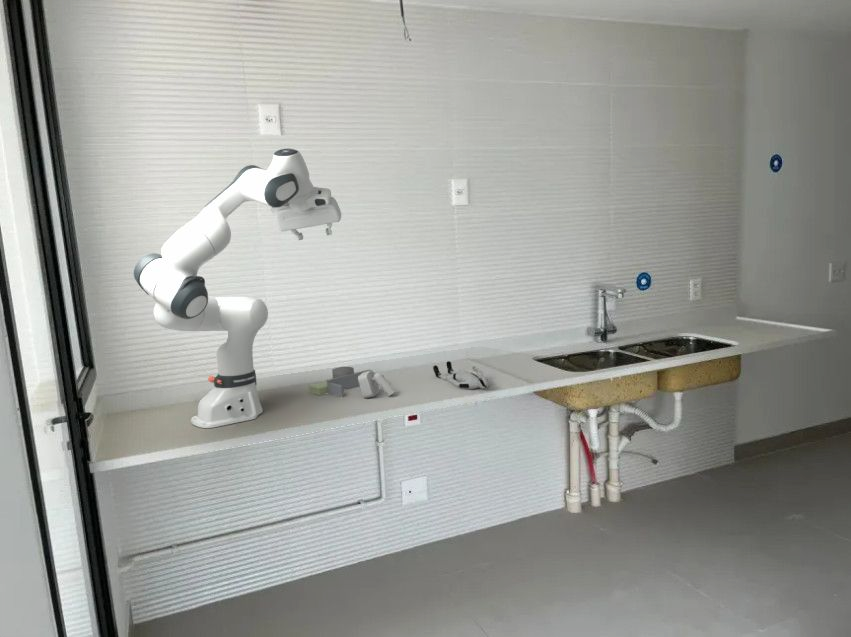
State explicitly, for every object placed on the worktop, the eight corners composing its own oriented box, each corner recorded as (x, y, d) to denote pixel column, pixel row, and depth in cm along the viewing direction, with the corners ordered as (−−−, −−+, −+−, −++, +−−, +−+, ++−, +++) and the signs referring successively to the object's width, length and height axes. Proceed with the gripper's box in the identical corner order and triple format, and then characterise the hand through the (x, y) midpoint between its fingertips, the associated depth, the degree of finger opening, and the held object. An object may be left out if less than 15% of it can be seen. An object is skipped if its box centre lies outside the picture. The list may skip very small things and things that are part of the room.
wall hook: (393, 397, 213) (384, 370, 212) (365, 404, 215) (357, 377, 214) (399, 391, 221) (390, 364, 220) (372, 397, 223) (364, 371, 222)
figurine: (455, 358, 244) (500, 369, 218) (458, 373, 245) (503, 386, 219) (426, 367, 238) (469, 379, 212) (429, 383, 239) (472, 397, 213)
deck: (333, 399, 216) (331, 381, 215) (308, 391, 229) (307, 374, 228) (391, 384, 233) (390, 367, 232) (366, 377, 246) (364, 361, 245)
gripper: (267, 209, 189) (282, 247, 198) (333, 198, 187) (345, 236, 196) (271, 199, 194) (285, 236, 203) (334, 188, 192) (346, 226, 201)
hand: (315, 236), depth 199 cm, fingers open, 8 cm apart
